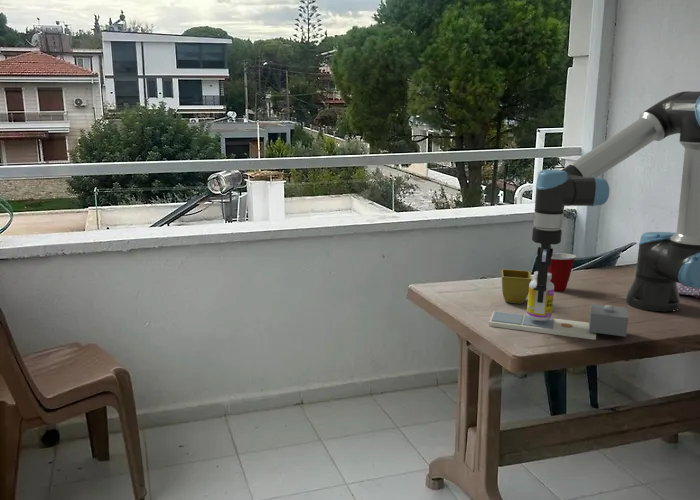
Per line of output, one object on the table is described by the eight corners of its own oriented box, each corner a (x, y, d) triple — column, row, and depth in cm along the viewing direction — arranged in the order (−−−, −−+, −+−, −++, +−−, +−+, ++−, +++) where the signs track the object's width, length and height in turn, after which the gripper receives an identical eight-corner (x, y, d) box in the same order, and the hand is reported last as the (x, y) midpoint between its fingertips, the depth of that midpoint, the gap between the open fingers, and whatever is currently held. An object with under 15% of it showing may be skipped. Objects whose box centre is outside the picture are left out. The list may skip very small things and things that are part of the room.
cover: (623, 325, 177) (626, 303, 175) (625, 336, 168) (628, 313, 167) (588, 321, 180) (591, 299, 178) (589, 331, 171) (591, 309, 170)
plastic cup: (559, 283, 222) (563, 249, 220) (579, 292, 212) (583, 257, 210) (532, 285, 219) (535, 251, 216) (551, 295, 209) (555, 259, 206)
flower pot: (529, 306, 197) (531, 278, 195) (500, 304, 199) (502, 276, 197) (527, 298, 205) (529, 270, 203) (499, 296, 207) (501, 269, 205)
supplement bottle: (547, 323, 175) (551, 277, 172) (523, 318, 178) (527, 273, 175) (553, 316, 180) (558, 272, 177) (530, 312, 184) (534, 268, 181)
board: (594, 327, 180) (595, 322, 180) (595, 339, 171) (596, 334, 170) (493, 314, 189) (493, 310, 188) (488, 325, 179) (489, 320, 179)
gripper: (535, 220, 184) (528, 297, 189) (530, 233, 166) (523, 318, 171) (562, 222, 181) (555, 300, 187) (561, 236, 163) (552, 322, 169)
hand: (539, 308), depth 179 cm, fingers closed on supplement bottle, 7 cm apart
